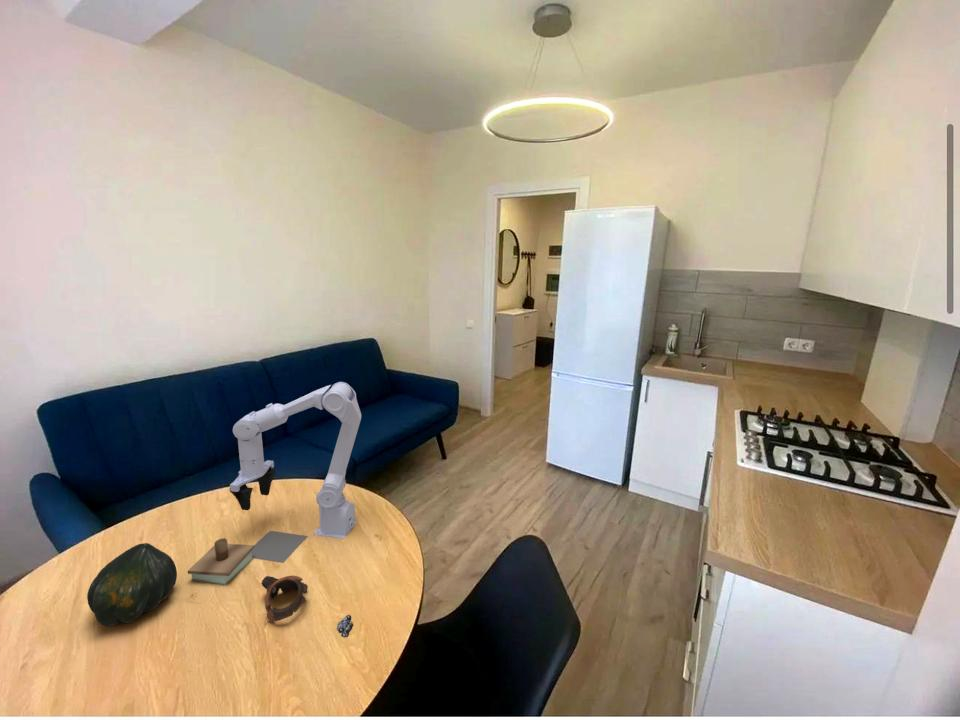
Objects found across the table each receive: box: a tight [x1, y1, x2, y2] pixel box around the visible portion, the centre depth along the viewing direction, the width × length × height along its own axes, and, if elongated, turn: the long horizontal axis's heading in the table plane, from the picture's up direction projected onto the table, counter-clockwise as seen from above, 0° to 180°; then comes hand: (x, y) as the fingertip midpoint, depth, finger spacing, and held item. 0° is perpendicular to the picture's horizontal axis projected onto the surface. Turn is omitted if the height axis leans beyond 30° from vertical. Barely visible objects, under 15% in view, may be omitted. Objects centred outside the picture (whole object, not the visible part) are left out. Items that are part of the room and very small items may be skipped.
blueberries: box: [336, 614, 354, 638], centre depth 84 cm, size 7×8×2 cm
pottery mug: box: [261, 575, 309, 623], centre depth 88 cm, size 12×10×8 cm
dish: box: [190, 551, 253, 586], centre depth 98 cm, size 9×9×3 cm
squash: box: [86, 542, 178, 627], centre depth 86 cm, size 14×15×15 cm
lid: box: [187, 537, 255, 576], centre depth 97 cm, size 10×10×5 cm
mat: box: [252, 530, 309, 564], centre depth 108 cm, size 12×11×1 cm
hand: (255, 501), depth 111 cm, fingers open, 7 cm apart
